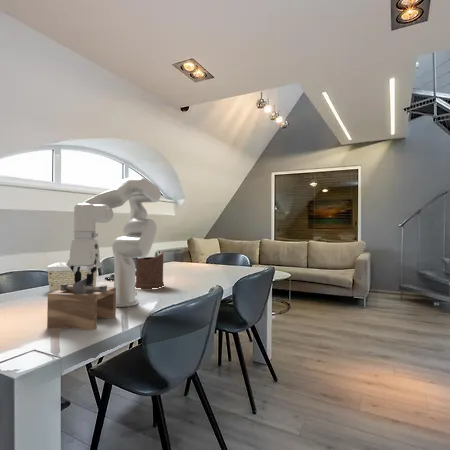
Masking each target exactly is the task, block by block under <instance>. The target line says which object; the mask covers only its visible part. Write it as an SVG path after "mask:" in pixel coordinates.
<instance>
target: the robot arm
mask: <svg viewBox="0 0 450 450" xmlns="http://www.w3.org/2000/svg"><path fill="white" fill-rule="evenodd" d="M161 197H162V193H161V189H160V188H159V186H157V185H156V184H155V183H153V182H152V181H151V180H149V179H147V178H144V177H127V178H124V179H122V180H120V181H119V182H118V183H117V184H115V185H114V186H113V187H112V188H110V189H109V190H106V191H104V192H101V193H98V194H96V195H94V196H92V197H89V198H88V199H86V200H84V201H83V202H82V203H76V204H75V205H74V208H73V212H74V213H73V239H72V240H71V244H70V250H69V259H68V260H67V262H66V263H67V264H66V265H67V266H68V267H70V268H71V270H72V271H73V273H74V281H75V283H77V282H78V281H80V280H81V272H80V269H81V266H87V269H88V274H87V285H89V284H92V283H93V276H94V273H95V271H96V270H97V271H98V269H101V267H102V266H103V265H102V262H101V261H100V259H101V258H100V248H99V241H98V239H97V238H98V237H99V233H97V232H96V224H106V223H109V222H110V221H112V219H113V218H114V210H113V209H116V208H119V207H122V206H124V205H125V203H126V202H127V201H128V202H129V206H130V208H129V209H130V211H129V214H128V216H127V218H126V221H125V223H124V226H123V235H124V236H119V237H116V238H115V239H114V240H113V242H112V246H111V248H112V255H113V262H114V267H113V269H114V271H113V273H114V281H113V287H116V308H128V307H133V306H136V305H138V304H139V300H138V299H137V298H136V296H137V295H138V292H137V291H136V289H135V283H136V276H135V271H136V262H135V261H134V260H133V258H135V257H137V259H140V258H145V257H148V255H149V253H150V252H151V249H152V247H153V244H154V240H155V238H156V235H157V229H158V227H157V223H156V221H155V220H153V219H151V218H147V217H148V211H147V209H146V208H145V206H144V205H143V203H145V204H146V203H157V202H159V201H160V199H161ZM96 237H97V238H96ZM94 265H96V266H95V267H94Z"/></svg>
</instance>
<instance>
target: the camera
mask: <svg viewBox="0 0 450 450" xmlns="http://www.w3.org/2000/svg"><path fill="white" fill-rule="evenodd" d="M108 278H109V279H108ZM105 279H108V280H109V281H110V280H114V274H113V273H112V274H110V275H109V276H106V277H104V280H105Z"/></svg>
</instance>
